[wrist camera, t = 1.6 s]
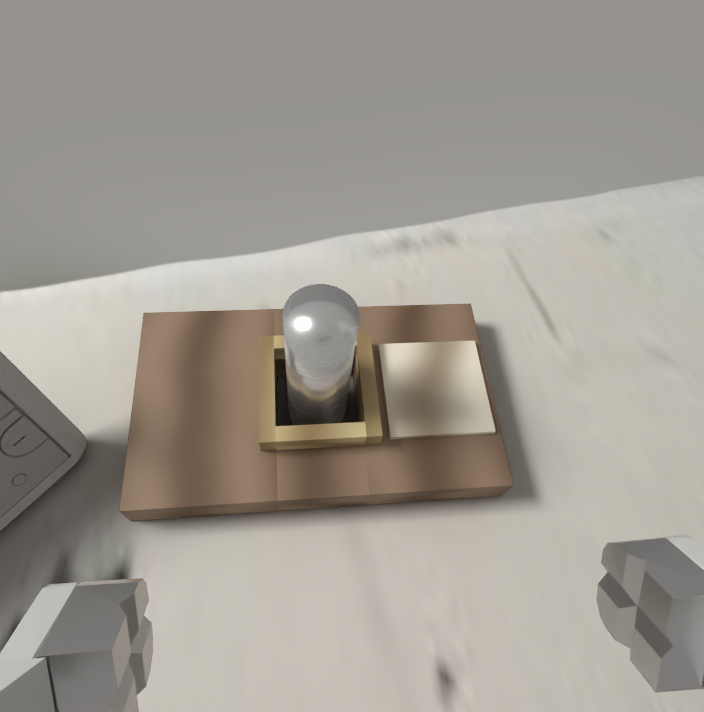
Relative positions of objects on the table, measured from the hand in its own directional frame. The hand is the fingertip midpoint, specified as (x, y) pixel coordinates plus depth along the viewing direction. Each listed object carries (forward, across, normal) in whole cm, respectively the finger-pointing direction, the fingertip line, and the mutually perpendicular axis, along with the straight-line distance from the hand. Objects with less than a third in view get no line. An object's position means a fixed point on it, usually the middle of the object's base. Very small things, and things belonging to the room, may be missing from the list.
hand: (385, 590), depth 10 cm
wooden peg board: (+28, 0, +7) cm, 29 cm away
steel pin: (+28, 0, +7) cm, 29 cm away
